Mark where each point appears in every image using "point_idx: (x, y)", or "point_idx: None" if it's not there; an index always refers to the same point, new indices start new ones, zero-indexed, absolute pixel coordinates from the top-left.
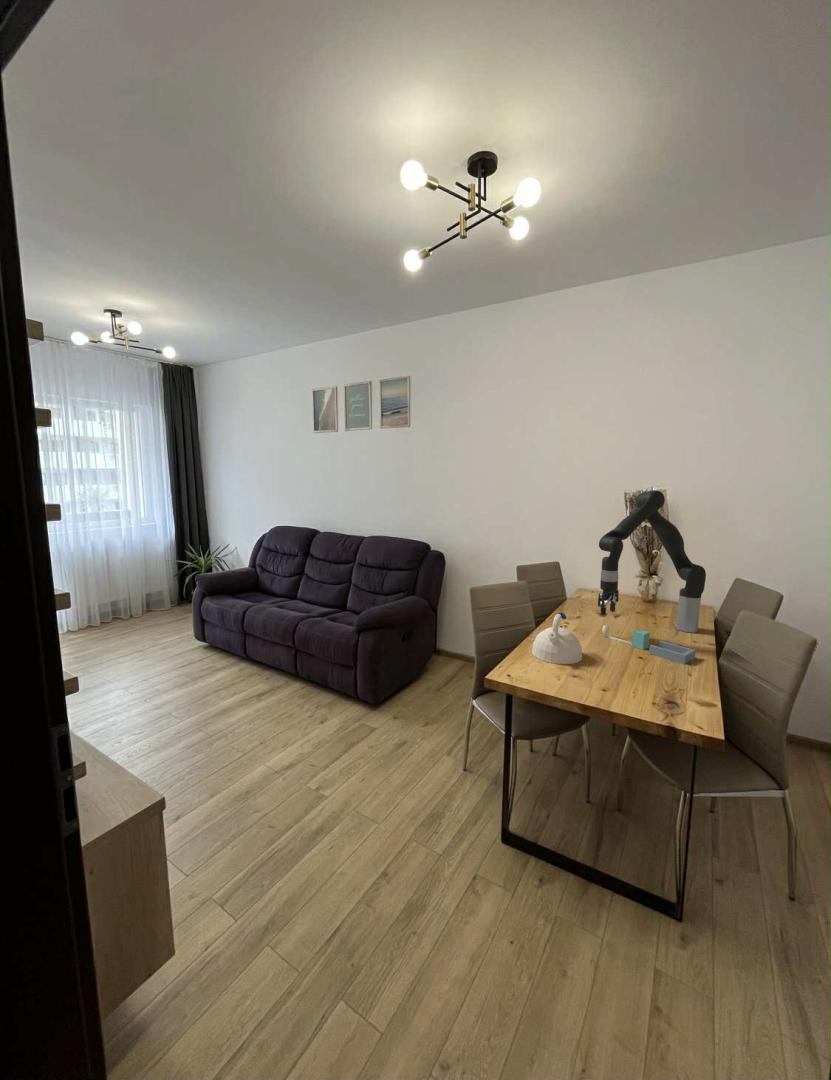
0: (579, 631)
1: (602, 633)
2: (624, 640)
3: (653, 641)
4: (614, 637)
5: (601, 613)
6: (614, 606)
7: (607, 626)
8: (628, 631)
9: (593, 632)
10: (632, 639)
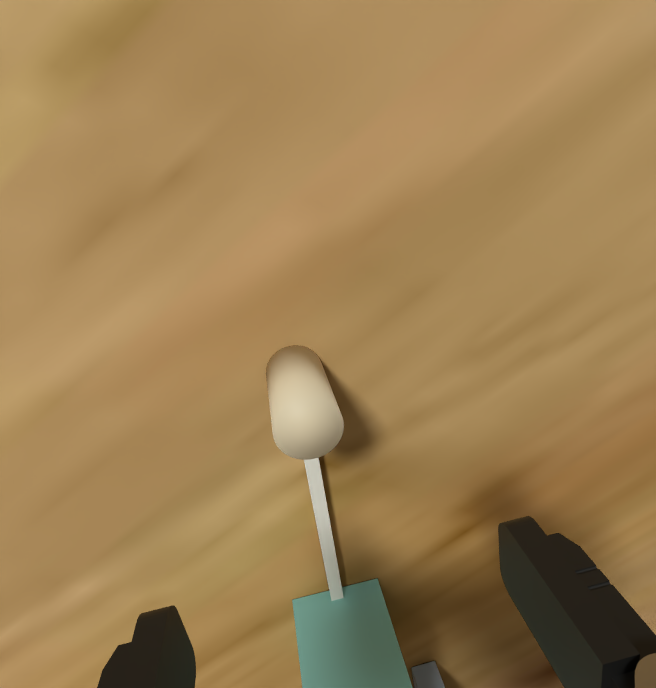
0: (140, 115)
1: (273, 368)
2: (328, 535)
3: None
4: (316, 458)
5: (116, 671)
6: (566, 684)
7: (315, 444)
8: (608, 358)
9: (281, 229)
10: (299, 656)
